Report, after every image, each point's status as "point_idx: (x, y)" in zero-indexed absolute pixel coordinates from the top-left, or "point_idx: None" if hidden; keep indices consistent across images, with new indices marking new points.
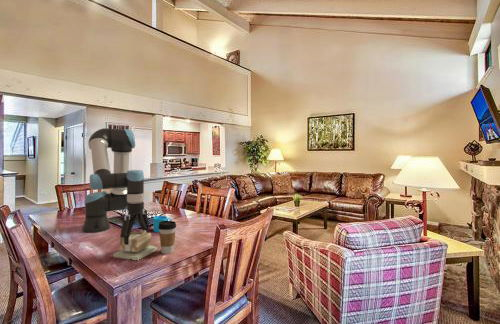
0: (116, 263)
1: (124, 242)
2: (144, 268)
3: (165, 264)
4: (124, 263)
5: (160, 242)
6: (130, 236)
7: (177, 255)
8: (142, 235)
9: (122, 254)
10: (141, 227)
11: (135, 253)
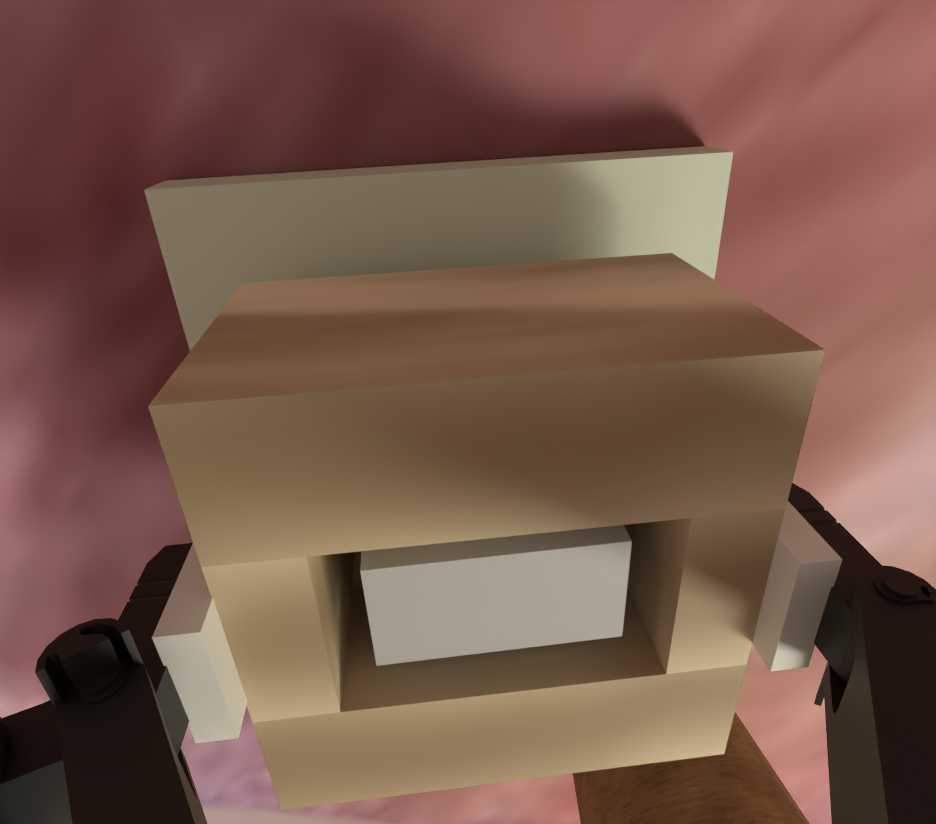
0: (51, 436)
1: (141, 588)
2: (181, 748)
3: (350, 812)
4: (125, 521)
5: (606, 770)
6: (420, 529)
7: (563, 779)
8: (534, 732)
9: None
10: (859, 650)
11: None
